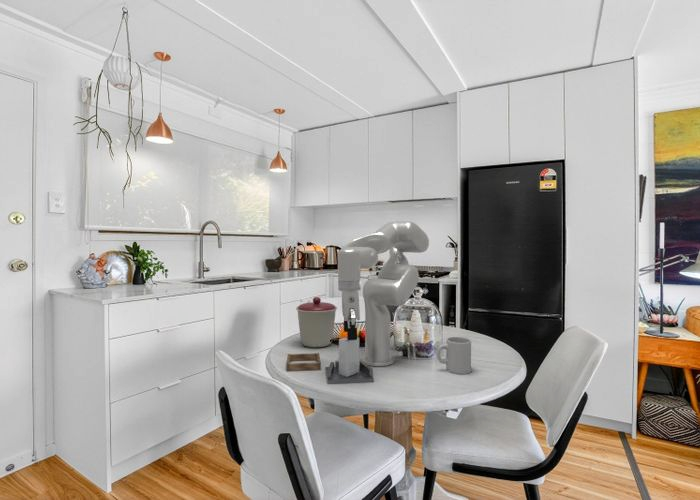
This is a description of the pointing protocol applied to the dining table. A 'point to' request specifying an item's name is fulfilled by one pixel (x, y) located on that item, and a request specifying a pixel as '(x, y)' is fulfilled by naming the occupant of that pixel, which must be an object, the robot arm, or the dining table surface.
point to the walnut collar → (303, 365)
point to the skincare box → (348, 356)
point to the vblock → (360, 377)
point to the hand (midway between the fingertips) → (350, 335)
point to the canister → (316, 323)
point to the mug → (456, 355)
